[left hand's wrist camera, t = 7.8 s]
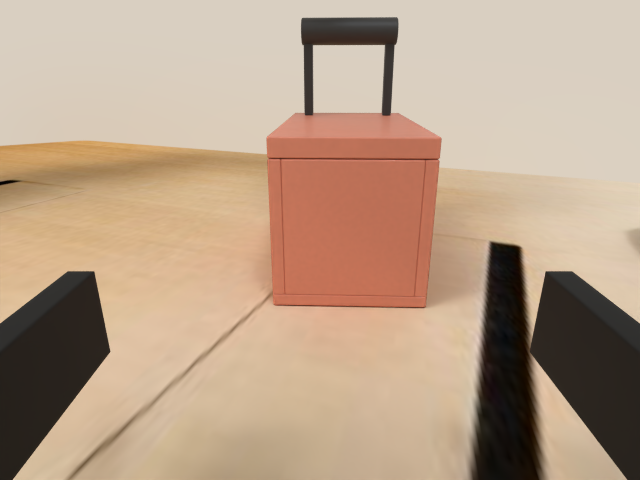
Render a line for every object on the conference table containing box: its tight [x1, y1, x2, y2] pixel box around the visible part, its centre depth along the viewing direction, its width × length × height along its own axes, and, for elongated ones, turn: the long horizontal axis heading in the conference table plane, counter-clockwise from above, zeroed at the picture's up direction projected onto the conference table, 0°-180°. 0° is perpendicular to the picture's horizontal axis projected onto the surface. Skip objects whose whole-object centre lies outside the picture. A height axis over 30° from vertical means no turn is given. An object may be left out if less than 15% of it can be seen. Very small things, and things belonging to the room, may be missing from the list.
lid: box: [267, 17, 441, 159], centre depth 30 cm, size 17×10×9 cm, turn 178°
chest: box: [267, 158, 439, 307], centre depth 33 cm, size 17×10×9 cm, turn 178°
